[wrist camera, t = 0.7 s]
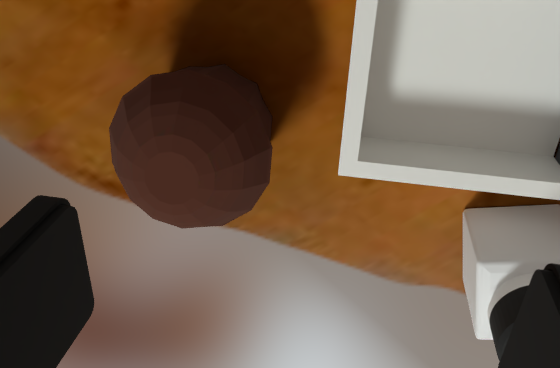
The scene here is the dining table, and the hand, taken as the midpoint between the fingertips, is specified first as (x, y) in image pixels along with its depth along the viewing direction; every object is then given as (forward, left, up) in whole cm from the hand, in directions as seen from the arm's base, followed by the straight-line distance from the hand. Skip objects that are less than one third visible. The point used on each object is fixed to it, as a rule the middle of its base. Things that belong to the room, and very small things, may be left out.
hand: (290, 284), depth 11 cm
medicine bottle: (+16, +14, -28) cm, 36 cm away
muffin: (+8, -10, -28) cm, 31 cm away
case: (0, +8, -28) cm, 29 cm away
